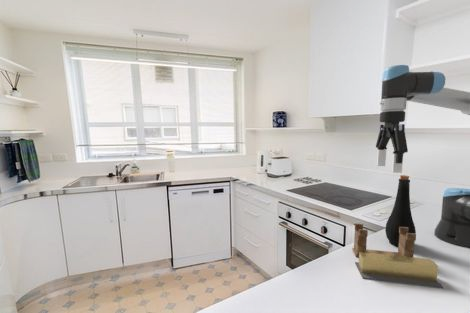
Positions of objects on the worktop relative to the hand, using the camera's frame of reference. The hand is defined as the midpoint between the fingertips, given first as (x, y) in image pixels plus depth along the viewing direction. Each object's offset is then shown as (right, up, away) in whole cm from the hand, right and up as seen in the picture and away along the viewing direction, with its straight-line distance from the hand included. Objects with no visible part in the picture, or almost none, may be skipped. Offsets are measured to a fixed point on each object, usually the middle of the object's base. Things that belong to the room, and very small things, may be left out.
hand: (388, 169), depth 85 cm
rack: (0, -34, +4) cm, 35 cm away
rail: (-2, -35, -7) cm, 36 cm away
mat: (-2, -36, -7) cm, 37 cm away
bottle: (+14, -33, +14) cm, 39 cm away
